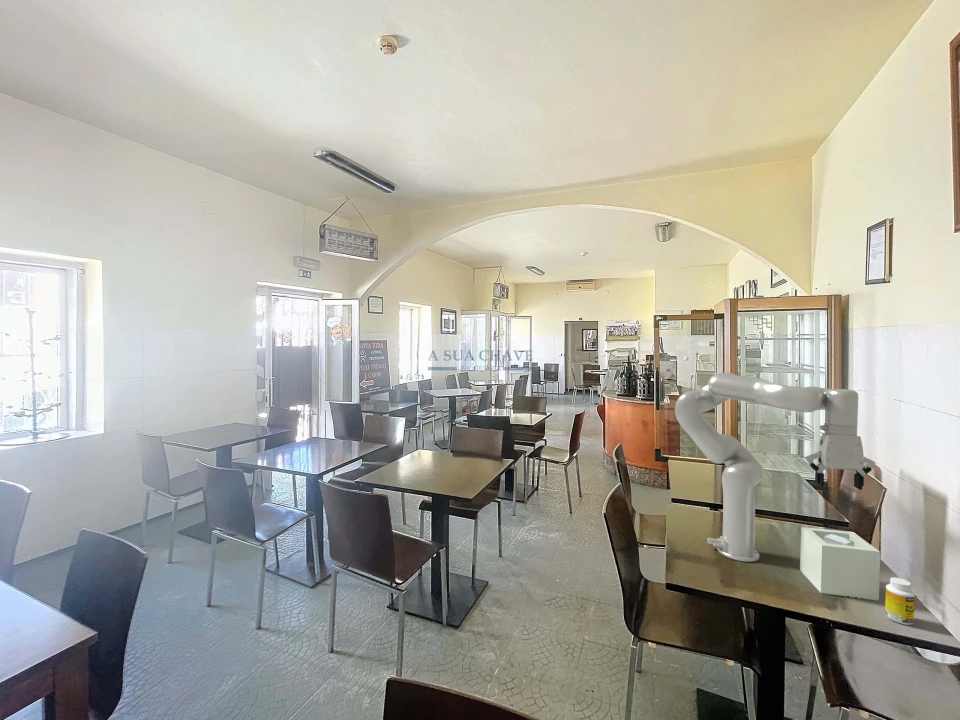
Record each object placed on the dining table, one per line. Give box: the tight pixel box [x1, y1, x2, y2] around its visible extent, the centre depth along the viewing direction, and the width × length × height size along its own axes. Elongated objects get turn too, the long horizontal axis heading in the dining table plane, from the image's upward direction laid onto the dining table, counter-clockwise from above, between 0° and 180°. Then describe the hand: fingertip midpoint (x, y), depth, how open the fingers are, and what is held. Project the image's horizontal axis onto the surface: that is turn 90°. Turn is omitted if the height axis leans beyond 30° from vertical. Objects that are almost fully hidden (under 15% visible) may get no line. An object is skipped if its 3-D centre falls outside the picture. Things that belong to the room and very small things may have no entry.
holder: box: [799, 526, 881, 601], centre depth 133 cm, size 14×14×14 cm
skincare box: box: [824, 534, 854, 546], centre depth 133 cm, size 6×4×12 cm
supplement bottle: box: [884, 577, 916, 626], centre depth 116 cm, size 6×6×10 cm
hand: (838, 486), depth 133 cm, fingers open, 9 cm apart
